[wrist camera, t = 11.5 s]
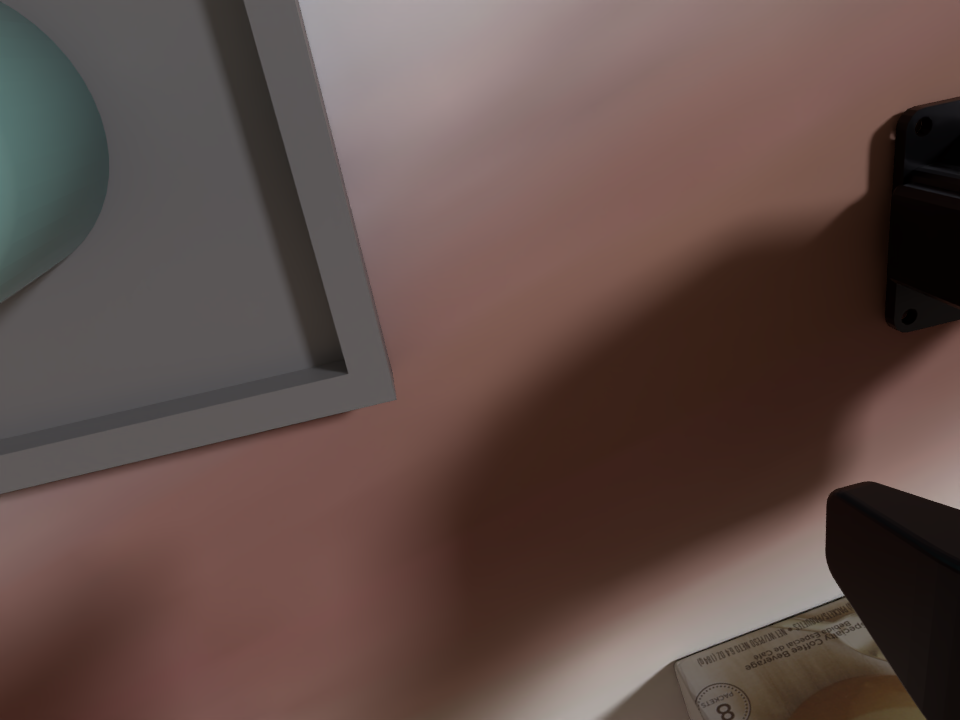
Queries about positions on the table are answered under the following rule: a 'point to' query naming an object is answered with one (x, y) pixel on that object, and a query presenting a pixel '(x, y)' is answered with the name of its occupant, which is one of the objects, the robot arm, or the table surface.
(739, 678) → the coffee box
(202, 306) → the tray
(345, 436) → the table surface
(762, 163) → the table surface
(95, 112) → the green rounded cylinder
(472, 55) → the table surface
